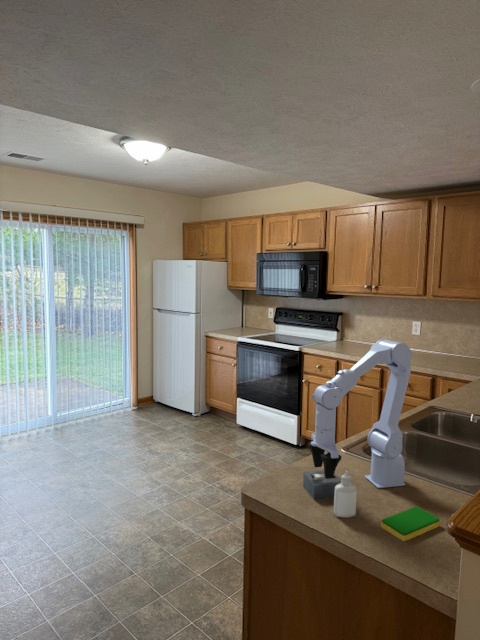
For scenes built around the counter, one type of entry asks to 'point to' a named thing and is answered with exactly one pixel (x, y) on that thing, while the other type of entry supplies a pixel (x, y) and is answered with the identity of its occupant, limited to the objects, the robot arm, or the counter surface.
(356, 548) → the counter surface
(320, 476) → the block
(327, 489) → the slot box
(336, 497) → the eye dropper bottle
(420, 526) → the dish sponge
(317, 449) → the robot arm
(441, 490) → the counter surface
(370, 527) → the counter surface
